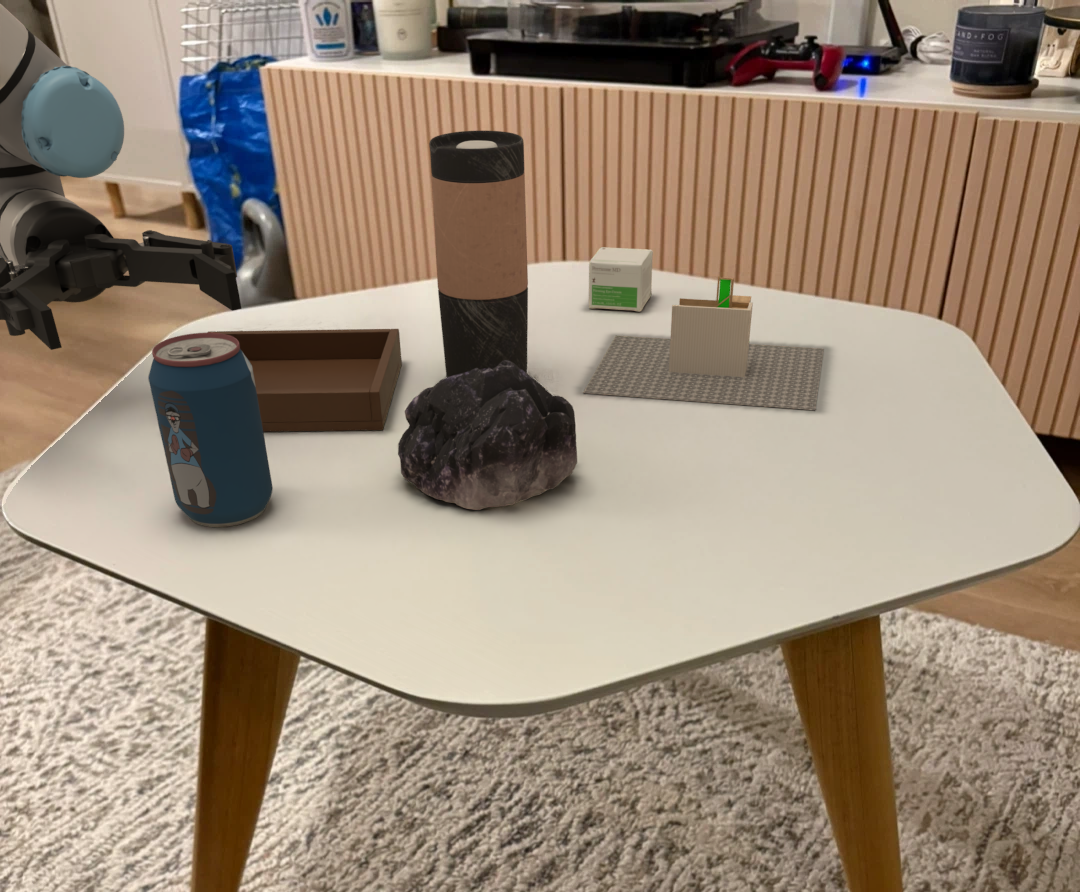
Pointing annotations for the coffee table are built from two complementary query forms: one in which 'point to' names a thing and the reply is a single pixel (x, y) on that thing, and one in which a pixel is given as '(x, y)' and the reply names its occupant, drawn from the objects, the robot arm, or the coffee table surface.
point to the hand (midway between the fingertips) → (145, 310)
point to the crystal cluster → (488, 438)
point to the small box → (620, 278)
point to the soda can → (211, 428)
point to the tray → (322, 377)
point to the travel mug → (480, 248)
